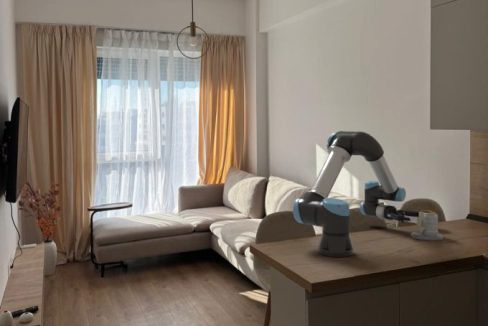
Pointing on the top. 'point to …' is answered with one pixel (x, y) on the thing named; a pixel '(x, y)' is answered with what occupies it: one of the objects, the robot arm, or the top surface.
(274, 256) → the top surface
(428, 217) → the mug
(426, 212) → the flower pot
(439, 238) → the trivet
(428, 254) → the top surface
